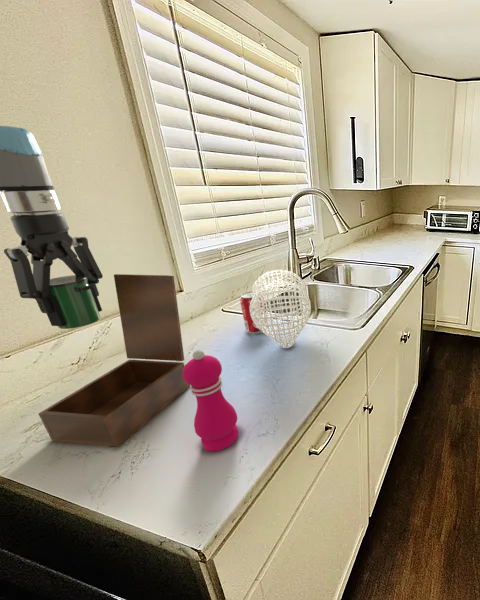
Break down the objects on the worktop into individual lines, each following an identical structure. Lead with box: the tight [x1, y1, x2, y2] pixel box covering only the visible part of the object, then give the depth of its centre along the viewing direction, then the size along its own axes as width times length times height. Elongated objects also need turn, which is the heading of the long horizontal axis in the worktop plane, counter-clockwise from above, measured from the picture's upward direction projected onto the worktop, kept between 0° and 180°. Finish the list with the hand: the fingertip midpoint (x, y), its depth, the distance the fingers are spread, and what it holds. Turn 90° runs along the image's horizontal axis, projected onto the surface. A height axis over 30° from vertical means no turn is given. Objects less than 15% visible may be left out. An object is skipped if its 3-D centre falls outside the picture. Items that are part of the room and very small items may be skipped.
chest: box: [38, 359, 190, 448], centre depth 71 cm, size 20×15×7 cm
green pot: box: [49, 274, 102, 330], centre depth 72 cm, size 10×8×10 cm
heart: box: [250, 269, 312, 349], centre depth 95 cm, size 28×16×22 cm, turn 21°
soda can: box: [239, 291, 268, 335], centre depth 107 cm, size 7×7×13 cm
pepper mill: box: [183, 349, 239, 452], centre depth 61 cm, size 7×7×20 cm
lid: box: [113, 273, 185, 362], centre depth 77 cm, size 21×15×1 cm
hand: (78, 317), depth 73 cm, fingers closed on green pot, 7 cm apart
